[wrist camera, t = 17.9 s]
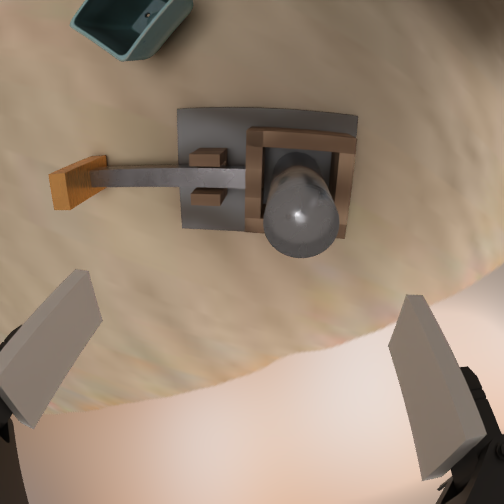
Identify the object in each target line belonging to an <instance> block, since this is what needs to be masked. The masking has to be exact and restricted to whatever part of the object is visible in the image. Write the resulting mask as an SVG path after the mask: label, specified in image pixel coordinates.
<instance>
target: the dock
mask: <svg viewBox="0 0 504 504" xmlns="http://www.w3.org/2000/svg"><path fill="white" fill-rule="evenodd" d="M357 123H358V116H354V115H347V114H338V113H329V112H319V111H308V110H294V109H277V108H249V107H210V108H182V109H177V127H178V161H179V165H189V166H210V167H220V166H221V165H234V166H246V170H245V189H237V188H209V187H180V202H181V218H182V228H190V229H209V230H227V231H244V232H253V233H265V232H264V227H263V218H264V213H265V208H266V203H267V198H268V194H269V189H270V184H271V179H272V175H273V170H274V166H275V164H276V162H277V161H278V160H279V159H280V158H281V157H282V156H283V155H285V154H287V153H291V152H302V153H305V154H307V155H309V156H310V157H312V158H313V159H314V160H315V162H316V163H317V165H318V167H319V169H320V171H321V174H322V176H323V178H324V180H325V183H326V185H327V187H328V189H329V192H330V194H331V196H332V199H333V201H334V204H335V206H336V208H337V211H338V214H339V222H340V223H339V230H338V234H337V236H336V238H341V239H345V232H346V226H347V219H348V212H349V205H350V198H351V190H352V182H353V173H354V164H355V154H356V144H357V138H356V135H357Z"/></svg>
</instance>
